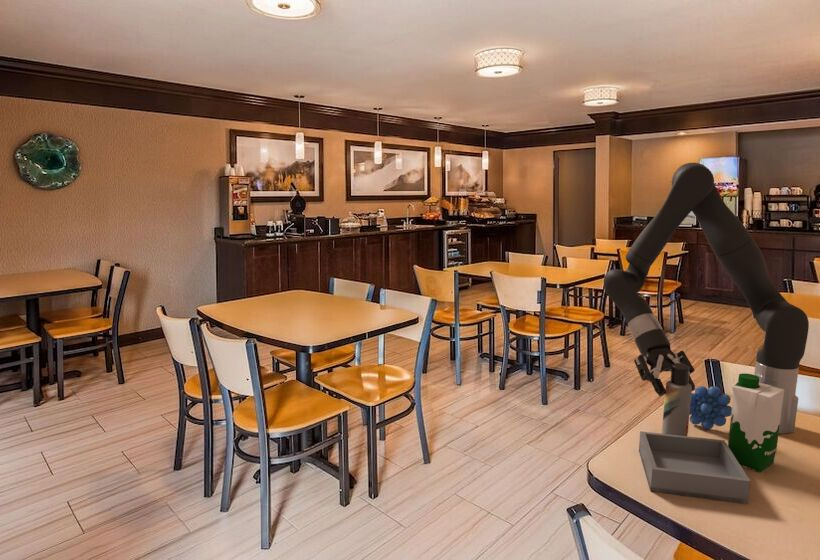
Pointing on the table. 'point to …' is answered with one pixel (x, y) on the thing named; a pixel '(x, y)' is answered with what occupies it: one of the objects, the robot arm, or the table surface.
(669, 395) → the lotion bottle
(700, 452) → the bin
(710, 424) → the grapes
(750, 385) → the milk carton
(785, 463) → the table surface
